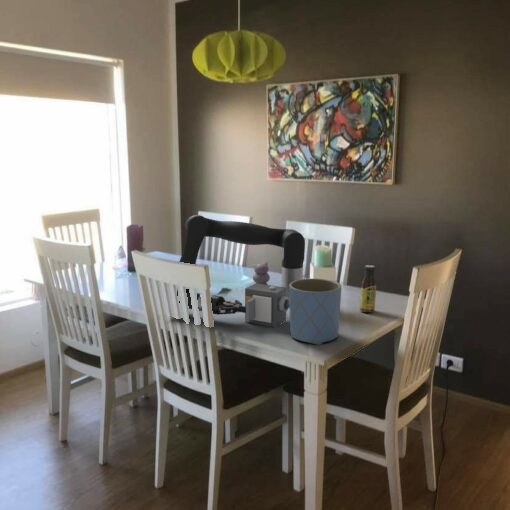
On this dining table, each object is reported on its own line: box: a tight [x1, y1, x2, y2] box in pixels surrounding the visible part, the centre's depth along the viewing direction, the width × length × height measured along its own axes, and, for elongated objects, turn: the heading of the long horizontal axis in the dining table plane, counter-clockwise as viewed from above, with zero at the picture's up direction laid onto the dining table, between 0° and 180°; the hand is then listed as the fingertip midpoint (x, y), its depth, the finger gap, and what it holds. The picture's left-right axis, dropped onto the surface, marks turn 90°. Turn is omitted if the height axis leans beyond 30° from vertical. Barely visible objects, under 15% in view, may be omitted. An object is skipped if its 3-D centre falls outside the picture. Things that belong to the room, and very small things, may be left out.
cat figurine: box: [252, 261, 270, 285], centre depth 274 cm, size 8×8×12 cm
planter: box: [289, 278, 342, 346], centre depth 205 cm, size 19×19×20 cm
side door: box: [246, 295, 272, 323], centre depth 215 cm, size 8×6×10 cm
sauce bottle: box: [359, 264, 377, 313], centre depth 234 cm, size 7×6×20 cm
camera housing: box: [244, 282, 290, 328], centre depth 222 cm, size 16×9×15 cm, turn 62°
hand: (248, 310), depth 216 cm, fingers closed
